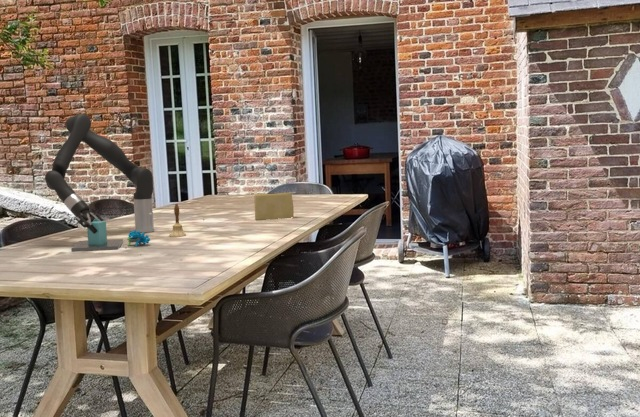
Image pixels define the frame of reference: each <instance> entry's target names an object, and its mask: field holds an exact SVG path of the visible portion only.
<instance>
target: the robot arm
mask: <svg viewBox="0 0 640 417" xmlns="http://www.w3.org/2000/svg"><path fill="white" fill-rule="evenodd" d="M65 127H66V130H67V131H68V132H69V133H70V134H69V136H68V137H67V139H66V140H65V141H64V143H63V144H62V145H61V147H60V148H59V149H58V152H57V153H56V155H55V156H54V160H53V162H52V168H51V170H48V171H47V172H46V173H45V175H44V181H45V184H46V187H47V188H48V189H50V190H51V191H54V192H55V193H56V195H57V197H58V199H60V200H61V201H62V202H63V204H64V205H65V206H66V207H67V209H68V210H69V211H70V212H71V213H72V214H73V215H74V216H75V220H76V221H77V222H78V223H79V224H80V225H81V227H83V228H84V229H87V228H89V229H90V230H91V231H92V232H93V233H94V234H95V233H96V232H97V229H96V228H95V227H94V226H93V225H92V224H91V222H93V221H104V219H103V218H102V217H101V216H100V215H99V213H98V212H97V211H94V212H92V211H90V206H89V205H88V204H87V202H86V201H85V200H84V199H83V198H82V197H81V196H80V195H79V194H77V192H76V191H75V190H74V189H73V188H72V187H71V186H70V185H69V184H68V183H67V181H66V179H65V177H66V174H67V170H68V168H69V166H70V164H71V162H72V160H73V158H74V156H75V154H76V151H77V150H78V147H80V144H81V143H82V142H83V143H85V144H86V145H87V146H89V148H91V149H92V150H93V151H94V152H96V153H97V154H98V155H99V156H100V157H101V158H103V159H104V160H105V161H106V162H108V163H109V164H111V165H112V166H113V167H114V168H116V169H117V170H118V171H119V172H121V173H122V174H123V175H124V176H126V178H127V179H128V181H130V182H131V183H132V184H133V185H135V186H136V191H135V192H134V193H133V210H134V211H133V214H134V230H135V231H136V232H137V231H140V233H142V232H143V233H151V232H154V231H155V230H154V229H155V227H154V226H155V224H154V212H153V198H152V197H153V192H154V176H153V173H152V171H151V170H150V169H148V168H146V167H140V166H138V165H136V164H135V163H134V162H132V161H131V160H130V159H129V158H128V157H127V155H126V154H125V152H124V150H123V149H122V148H121V147H120V146H119V145H118V144H116V143H115V142H113V140H110V139H109V138H107V137H104V136H103V135H99V134H97V133H96V132H94V131H92V130H91V128H92V121H91V118H90V117H89V116H88V115H86V114H85V113H79V114H76V115H72V116H69V117H68V118H67V119H66V120H65Z"/></svg>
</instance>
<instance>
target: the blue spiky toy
mask: <svg viewBox="0 0 640 417" xmlns="http://www.w3.org/2000/svg"><path fill="white" fill-rule="evenodd" d="M126 239H127V241H128V244H127V246H128V247H129V246H130V245H131V244H132V243H135V244H134V247H136V246H137V247H138V244H139V245H141V244H143V245H146V244H149V242H150V241H151V238H150V236H149V235H147V234H146V232H140V231H137V232H136V231H135V229H134V230H132V231H129V233H128V236H127V238H126Z"/></svg>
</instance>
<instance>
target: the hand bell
mask: <svg viewBox="0 0 640 417" xmlns="http://www.w3.org/2000/svg"><path fill="white" fill-rule="evenodd" d="M178 204H179V203H175V204H174V208H173V212H174V215H175V216H174V217H175V223H174V224H173V225H172V230H171V232H170V234H169V237H171V238H179V237H181V238H182V237H186V236H187V233H185V232H184V230H183V225H182V224H181V223H180V218H179V217H180V207H179V205H178Z"/></svg>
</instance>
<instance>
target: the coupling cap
mask: <svg viewBox="0 0 640 417" xmlns="http://www.w3.org/2000/svg"><path fill="white" fill-rule="evenodd" d="M91 224H92V225H93V226H94V227H95V228H96V229H97V232H96V233H95V234H94V233H93V232H92V231H91V230H90V229H89V228H87V227H86V230H87V231H86V232H87V241H88V244H90V245H101V244H104V243H107V240H108V235H107V234H108V233H107V221H106V220H103V221H94V220H93V222H91Z"/></svg>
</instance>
